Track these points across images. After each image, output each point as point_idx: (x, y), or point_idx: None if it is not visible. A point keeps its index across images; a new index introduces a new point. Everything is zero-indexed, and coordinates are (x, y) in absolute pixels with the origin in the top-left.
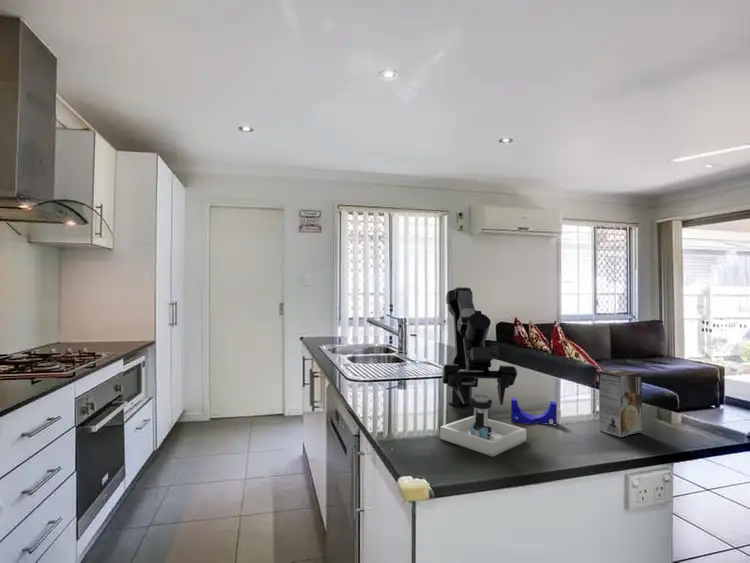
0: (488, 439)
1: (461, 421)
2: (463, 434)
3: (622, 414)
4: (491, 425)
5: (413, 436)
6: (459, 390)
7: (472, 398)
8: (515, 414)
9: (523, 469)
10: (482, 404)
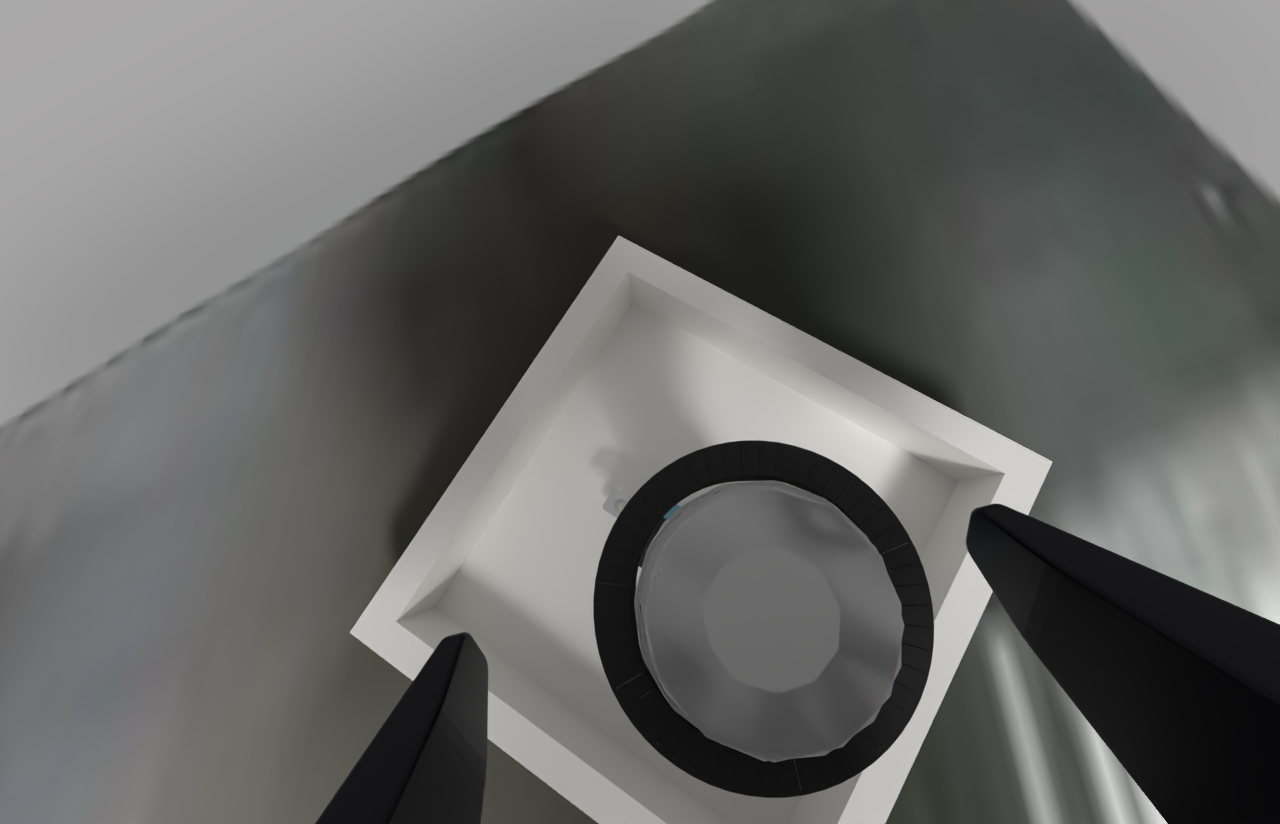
0: None
1: None
2: (831, 347)
3: None
4: (633, 774)
5: (1185, 454)
6: (1276, 631)
7: (907, 686)
8: None
9: (484, 179)
10: (723, 446)
